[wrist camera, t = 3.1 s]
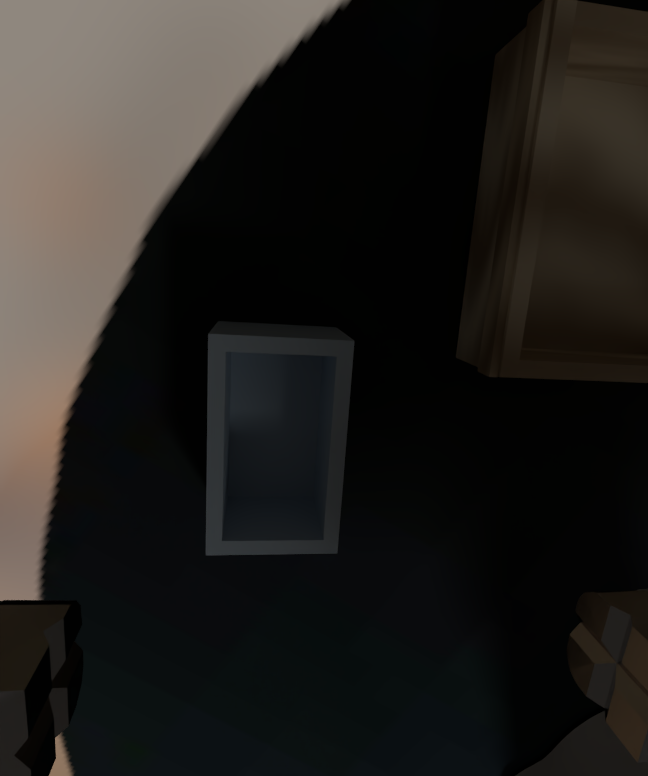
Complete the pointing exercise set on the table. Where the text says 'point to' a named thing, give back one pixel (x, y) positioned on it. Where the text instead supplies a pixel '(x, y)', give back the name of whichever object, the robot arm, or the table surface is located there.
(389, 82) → the table surface
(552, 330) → the pine crate
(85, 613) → the table surface
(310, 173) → the table surface
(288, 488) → the small crate
